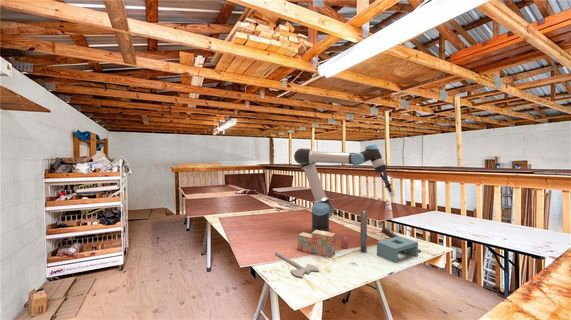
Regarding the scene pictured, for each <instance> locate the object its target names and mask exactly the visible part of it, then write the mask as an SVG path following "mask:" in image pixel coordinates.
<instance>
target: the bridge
mask: <svg viewBox="0 0 571 320" xmlns="http://www.w3.org/2000/svg"><path fill="white" fill-rule="evenodd" d="M418 249H419V242H418V241H416V240H413V239H410V238H406V237H403V236H401V235H398V236H397V237H390V238H385V239H382V240H379V241H376V255H377V256H379V257H380V258H383V259H385V260H388V261H389V262H392V263H398V262H399V252H404V253H407V254H410V255H412V256H416V257H417V256H418V255H419V252H418Z"/></svg>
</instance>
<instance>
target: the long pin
mask: <svg viewBox="0 0 571 320" xmlns="http://www.w3.org/2000/svg"><path fill="white" fill-rule="evenodd" d="M367 237H368V211H367V210H364V209H362V210H360V240H359V242H360V244H359V246H360V249H359V250H360V252H361V253H363V254H365V253H367V252H368V249H367V248H368V247H367V246H368V241H367V240H368V238H367Z"/></svg>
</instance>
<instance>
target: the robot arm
mask: <svg viewBox="0 0 571 320" xmlns="http://www.w3.org/2000/svg"><path fill="white" fill-rule="evenodd" d="M293 159H294V162H296V163H297V164H298V165H300V167H301V168H300V169H301V170H304V173H305V177H306V178H307V181H308V184H309V187H310V189H311V193H312V197H314V204H313V205H312V206H311V229H310V232H309V234H312V232H314V231H315V230H320V231H326V232H330V233H332V232H331V229H330V218H331V217H332V216H333V214H334V211H335V208H334V205H333V203H332V202H331V200H330V198H329V197H327V196H326V193H325V190H324V187H323V185H322V184H323V183H322V181H321V179H320V176H319V173H318V171H317V168H316V165H317V164H318V163H319V164H320V163H321V164H338V165H339V164H341V165H353V167H357V166H359V165H362V164H364V163H366V162H370V163H371V165H372V167H373V168H374V172H375V173H376V174H380V178H381V179H382V181H383V183H384V185H385V186H384V188H385V189H386V190H387V192H388V194H389V197H390V198H394V197H396V194H395V191H394V190H393V187H392V184H391V183H390V181H389V177H388V174H387V172H385V171H387V170H388V167H387V165H386V164H385V159H384V158H383V157H382V154H381V152H380V150H379V147H378V145H377V144H376V143H371V144H369V145H367V146H365V148H364V150H363V151H360V152H341V151H339V152H337V151H313V149H310V148H303V147H301V148H299V149H296V151H295V152H294V155H293Z"/></svg>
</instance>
